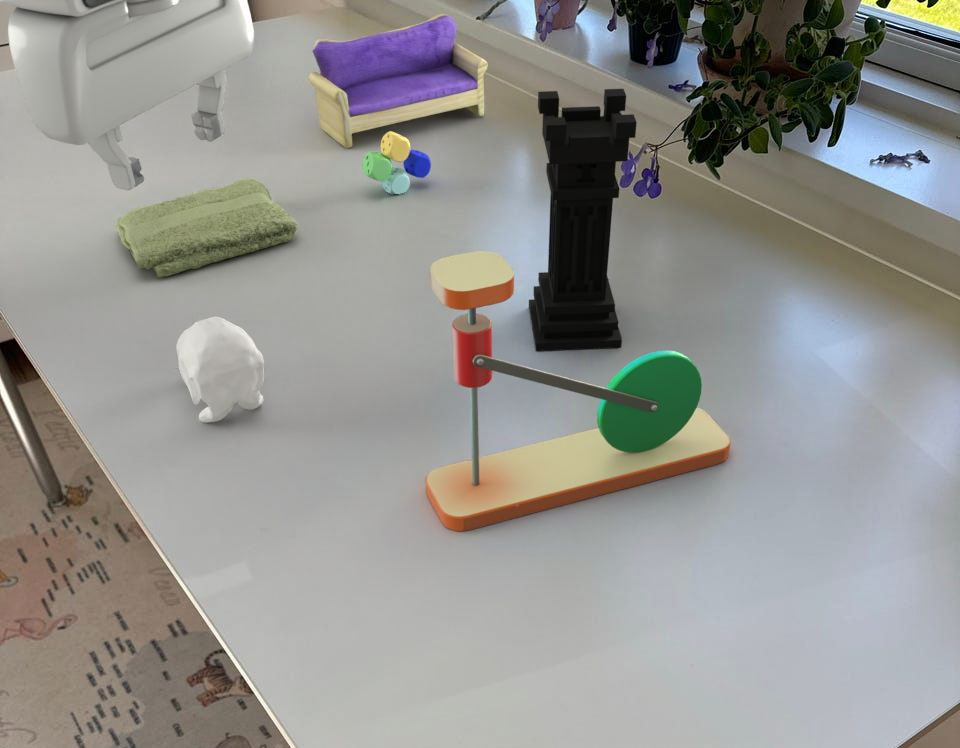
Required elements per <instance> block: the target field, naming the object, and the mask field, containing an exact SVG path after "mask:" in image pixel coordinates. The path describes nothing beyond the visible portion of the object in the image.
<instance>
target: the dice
mask: <svg viewBox="0 0 960 748" xmlns="http://www.w3.org/2000/svg"><path fill="white" fill-rule="evenodd" d="M380 151H381V152H379V151H375V150H369V151H368V152H367V153H366V154H365V155H364V157H363V159H362V166H361V167H362V171H363V174H364V175H365V176H366V177H368V178H369V179H372V180H375V181H379V182H381V185H382V187H383V190H384V191H385V192H386V193H387V192H388V193H387V194H389V193H390V194H389V195H393V194H399V195H401V194H400V193H403V194H405V193H406V192H407V191H408V190H409V188H410V185H411V184H410V182H411V181H410V177H409V176H413V177H415V178H418V179H419V178H420V179H424V178H426V177H427V176H428V175H429V173H430V171H431V167H432V162H431V159H430V156H429V155H428V154H426V153H425V152H422V151H420V150H416V149H411V143H410V141H409V139H408V138H406V137H405V136H403V135H402V134H399V133H397V132H394V131H391V130H389V131H388V132H386V133H385V134H384V135H382V138H381V141H380ZM391 160H392V161H394V162H397V163H402V162H403V168H402V167H400V166H399V167H398V166H393V164H392V161H391ZM404 192H405V193H404Z"/></svg>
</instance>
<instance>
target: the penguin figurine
mask: <svg viewBox="0 0 960 748" xmlns="http://www.w3.org/2000/svg"><path fill="white" fill-rule="evenodd" d="M175 348H176V354H177V361H178V367H175V370H176V369H177V371H179V372H180V376H181V379H182V380H183V382H184V384H185V385H186V386H187V389H188V391H189V394H190V397H191V400H192V404H193V405H198V404H199V403H200V402H201V400H202V401H203V402H204V403H206V405H207V406H206V407H205V408H204V409H202V410H201V411H200V413H199V414H198V420H199V421H200V422H202V423H205V424H209V423H216V422H219V421H221V420H223V419H224V418H225V417H226V416H227V415H228V414H229V413H230V412H231V411H232V410H233V408H234V405H235V404H236V403H237V404H238V406H239V407H240V408H241V409H244V410H247V411H248V410H249V411H253V410H255V409H257V408H259V407H260V406H261V405H263V403H264V396H263V395H262V393H261V392H260V390H261V389H262V387H263V385H264V381H265V371H264V367H265V365H264V364H265V361H264V356H263V354H262V352H261V351H260V350H259V349H258V348H257V345H256V344H255V342H254V340H253V338H252V337H251V336H250V335H249V334H248V333H247V332H246V331H245V330H244V329H243V328H242V327H241V326H238V325H236V324H234V323H232V322H230V321H229V320H226V319H224V318H222V317H219V316H210V317H208V318H205V319H200V320H197V321H195V322H194V323H193V324H192V325H191V326H189V327H188V328H186V329H185V330H183V332H181V334H180V336H179V337H178V339H177V341H176V346H175Z"/></svg>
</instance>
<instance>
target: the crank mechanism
mask: <svg viewBox="0 0 960 748" xmlns="http://www.w3.org/2000/svg"><path fill="white" fill-rule="evenodd" d="M429 271H430V287H431V290H432V291H433V293H434V295H435V296H436V297H437V298H438V300H439V302H440V303H441V304H443V305H444V306H445V307H447V308H449V309H452V310H457V311H467V313H463V314H461V315H459V316H457V317H456V318H455V319H454V320H453V321H452V323H451V329H452V330H451V331H452V355H453V359H452V360H453V379H454V381H455V382H456V383H457V384H458V385H459V386H461V387H464V388H469V405H470V406H469V407H470V441H471V459H468V460H464V461H460V462H455V463H452V464H447V465H444V466H439V467H437V468H434V469H432V470H431V471H430V472H428V473H427V475H426V476H425V492H426V496H427V498H428V500H429V502H430V504H431V507H432V508H433V509H434V511H435V513H436V515H437V517H438V518H439V520H440V522H441V524H442V525H443V526H444V527H445V528H447V529H448V530H451V531H454V532H467V531H470V530H475V529H480V528H482V527H486V526H490V525H493V524H497V523H501V522H505V521H508V520H512V519H517V518H520V517H523V516H527V515H531V514H535V513H538V512H543V511H546V510H551V509H555V508H557V507H561V506H565V505H569V504H573V503H576V502H577V503H578V502H580V501H581V502H582V501H584V500H588V499H591V498H595V497H599V496H602V495H606V494H610V493H614V492H618V491H621V490H625V489H629V488H633V487H637V486H640V485H641V486H642V485H644V484H648V483H651V482H655V481H659V480H664V479H666V478H671V477H674V476H678V475H682V474H685V473H689V472H693V471H697V470H701V469H703V468H708V467H713V466H717V465H719V464H722V463H724V462H725V461H727V459H728V457H729V454H730V449H731V438H730V436H729V435H728V434H727V433H726V432H725V431H724V430H723V428H722V427H720V426H719V425H718V423H717V422H716V421H715V420H714V419H713V417H711V416H710V415H709V414H708V413H707V412H706V411H705V410H704V409H703V408H700V407H698V404H699V402H700V399H701V396H702V387H703V385H702V377H701V374H700V371H699V369H698V367H697V365H695V363H693V361H692V360H691V359H689V357H688V356H686V355H685V354H683V353H681V352H678V351H674V350H657V351H652V352H649V353H645V354H644V355H641V356H639V357H637V358H635V359H633V360H632V361H630V362H629V363H628V364H626V365H625V366H624V367H623V368H621V369H620V370H619V371H618V372H617V373H616V374H615V375H614V376H613V377H612V379H611V380H610V381H609V382H608V384H607V386H606V387H603V386H599V385H596V384H591V383H587V382H584V381H580V380H576V379H573V378H569V377H565V376H562V375H558V374H554V373H551V372H547V371H544V370H540V369H536V368H532V367H529V366H525V365H521V364H517V363H515V362H511V361H506V360H503V359H498V358H495V357H493V323H492V320H491V319H490V318H489V317H488V316H487V315H485V314H482V313H477V309H478V308H483V307H487V306H492V305H493V306H494V305H497V304H501V303H503V302H506V301H508V300H509V299H510V298H512V297H513V295H514V293H515V271H514V269H513V268H512V266H511V265H510V264H509V263H508V261H507V260H506V259H505V258H504V257H503V256H501V255H500V254H499V253H497V252H494V251H487V250H478V251H477V250H475V251H470V252H466V253H460V254H454V255H450V256H445V257H442V258H439V259H437V260H435V261H433V263H432V264H430V270H429ZM493 372H495V373H499V374H502V375H503V374H504V375H508V376H512V377H515V378H519V379H522V380H527V381H530V382H534V383H537V384H541V385H546V386H549V387H554V388H557V389H561V390H565V391H569V392H571V393H572V392H573V393H577V394H580V395H584V396H588V397H592V398H596V399H599V403H598V406H597V413H596V423H597V427H596V428H593V429H588V430H585V431H579V432H576V433H572V434H568V435H564V436H560V437H556V438H552V439H547V440H544V441H540V442H536V443H535V442H534V443H532V444H527V445H524V446H520V447H516V448H511V449H508V450H503V451H499V452H496V453H495V452H494V453H492V454H488V455H484V456H483V455H482V456H480V441H479V440H480V438H479V398H478V397H479V395H478V394H479V393H478V391H479V389H478V388H481V387H485V386H486V385H488V384H489V383H491V381H492V380H493Z"/></svg>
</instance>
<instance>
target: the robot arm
mask: <svg viewBox="0 0 960 748" xmlns="http://www.w3.org/2000/svg"><path fill="white" fill-rule="evenodd" d="M0 3H2V4H4V5H7V6H11V7H15V8H14V10H12V12H11V14H10V16H9V20H8V23H7V40H8V46H9V52H10V56H11V59H12V63H13V68H14V71H15V75H16V79H17V82H18V85H19V89H20V93H21V95H22V99H23V101H24V105H25V107H26V111H27V113H28V117H29V119H30V120H31V123H32V124H33V126H34V127H35V128H36V129H37V130H38V131H39V132H40V133H41V134H43V136H45V137H46V138H47V139H50V140H52V141H58V142H60V143H65V144H70V145H75V146H84V145H86V144H87V145H89V147H90V148H91V149H92V150H93V151H94V152H95V153H96V154H97V155H98V156H99V157H100V159H102V161H103V162H104V163H105V164H106V165H107V169H108V173H109V176H110V181H111V182H112V184H113V185H114V187H115V188H117V189H119V190H125V191H131V190H132V189H134V188H136V187H137V186H139V185H141V184H143V182H144V181H145V177H144V176H145V175H144V173H142V165H141V160H140V158H137V157H133V156H127V154H126V153H125V151H124V150H123V149H122V148H121V146H120V145H119V143H120V142H122V141H123V140H124V138H123V134H122V130H121V126H122V125H124V124H126V123H127V122H129V121H131V120H132V119H134V118H135V119H136V117H138V116H141V115H142V114H145V113H146V112H148V111H150V110H151V109H154V108H156V107H157V106H159V105H161V104H162V103H164V102H167V101H168V100H170V99H172V98H174V97H176V96H178V95H180V94H182V93H183V92H185V91H187V90H189V89H191V88H192V87H195V86H198V96H197V111H195V112H194V113H192V114H191V115H190V116H191V120H192V124H193V125H194V135H195V136H196V138H197V139H199V140H200V141H207V142H211V143H212V142H214V141H215V140H217V139H218V138H220V137H222V136H223V135H225V132H226V130H225V129H226V128H225V123H224V119H223V113H222V112H223V109H224V106H225V105H224V104H225V98H226V94H227V87H228V80H227V75H226V69H228V68H231V67H232V66H234V65H236V64H238V63H240V62H242V61H244V60H245V59H248V58H249V57H250V56H251V55H252V53H253V49H254V45H255V44H254V43H255V40H256V38H255V36H256V35H255V28H254V24H253V19H252V14H251V9H250V6H249V5H250V4H249V2H248V0H0Z"/></svg>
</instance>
